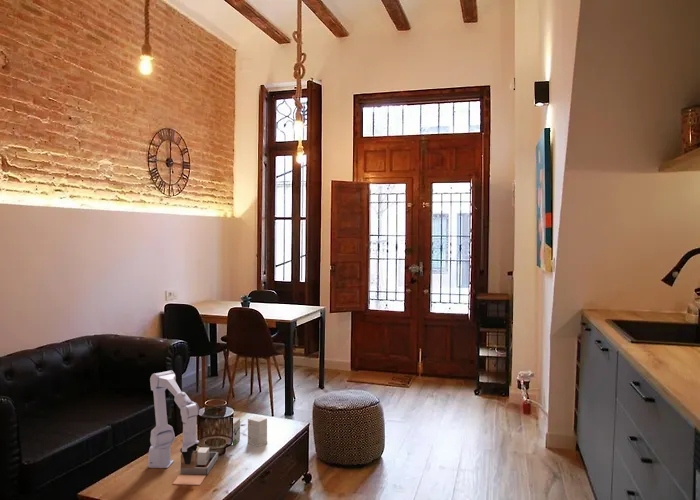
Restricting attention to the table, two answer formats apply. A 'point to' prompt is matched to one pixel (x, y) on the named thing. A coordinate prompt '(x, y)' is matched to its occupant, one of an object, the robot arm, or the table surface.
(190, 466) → the walnut box
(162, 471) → the table surface
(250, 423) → the small box
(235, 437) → the ink box
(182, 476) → the tile
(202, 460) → the white box
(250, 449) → the table surface
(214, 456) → the bin
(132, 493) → the table surface
